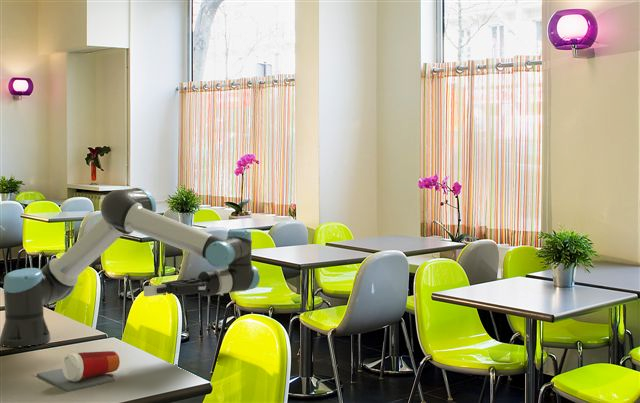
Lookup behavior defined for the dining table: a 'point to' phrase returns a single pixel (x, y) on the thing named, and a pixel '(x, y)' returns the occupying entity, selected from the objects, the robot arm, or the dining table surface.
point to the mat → (68, 385)
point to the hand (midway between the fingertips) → (145, 291)
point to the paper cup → (89, 364)
